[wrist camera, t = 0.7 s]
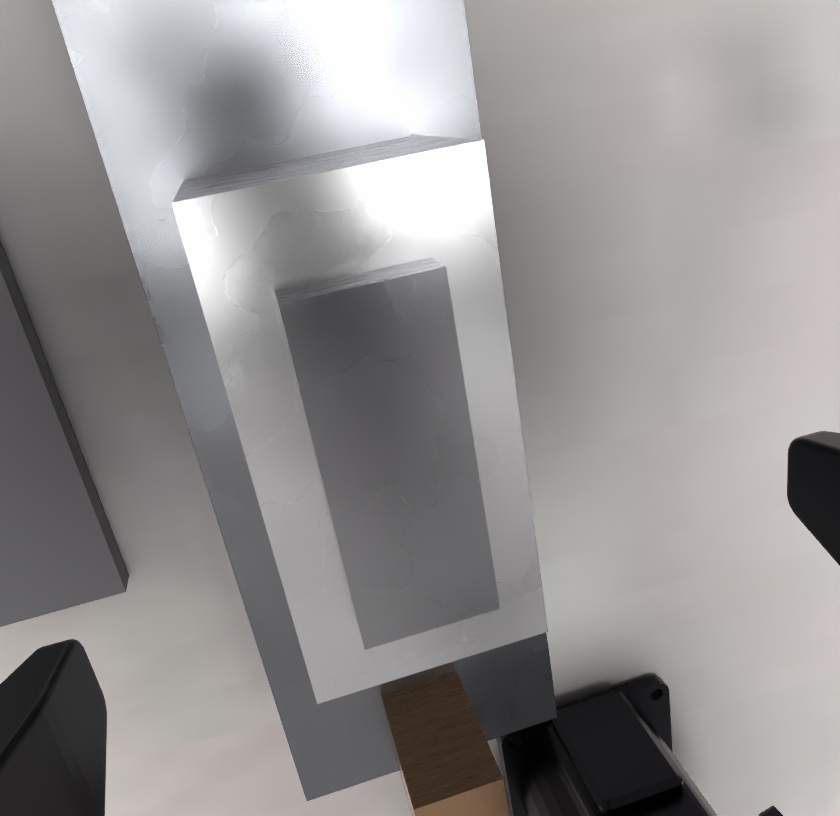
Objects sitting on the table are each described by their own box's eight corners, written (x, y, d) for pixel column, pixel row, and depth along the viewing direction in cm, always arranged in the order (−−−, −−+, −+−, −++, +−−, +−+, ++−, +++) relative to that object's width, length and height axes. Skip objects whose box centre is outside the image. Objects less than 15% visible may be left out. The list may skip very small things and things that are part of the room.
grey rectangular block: (482, 529, 18) (565, 658, 14) (296, 582, 18) (322, 736, 13) (417, 134, 15) (502, 142, 10) (183, 180, 14) (168, 209, 10)
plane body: (496, 610, 26) (617, 824, 18) (290, 673, 24) (323, 931, 17) (368, -188, 17) (495, -443, 9) (41, -147, 16) (-126, -398, 8)
